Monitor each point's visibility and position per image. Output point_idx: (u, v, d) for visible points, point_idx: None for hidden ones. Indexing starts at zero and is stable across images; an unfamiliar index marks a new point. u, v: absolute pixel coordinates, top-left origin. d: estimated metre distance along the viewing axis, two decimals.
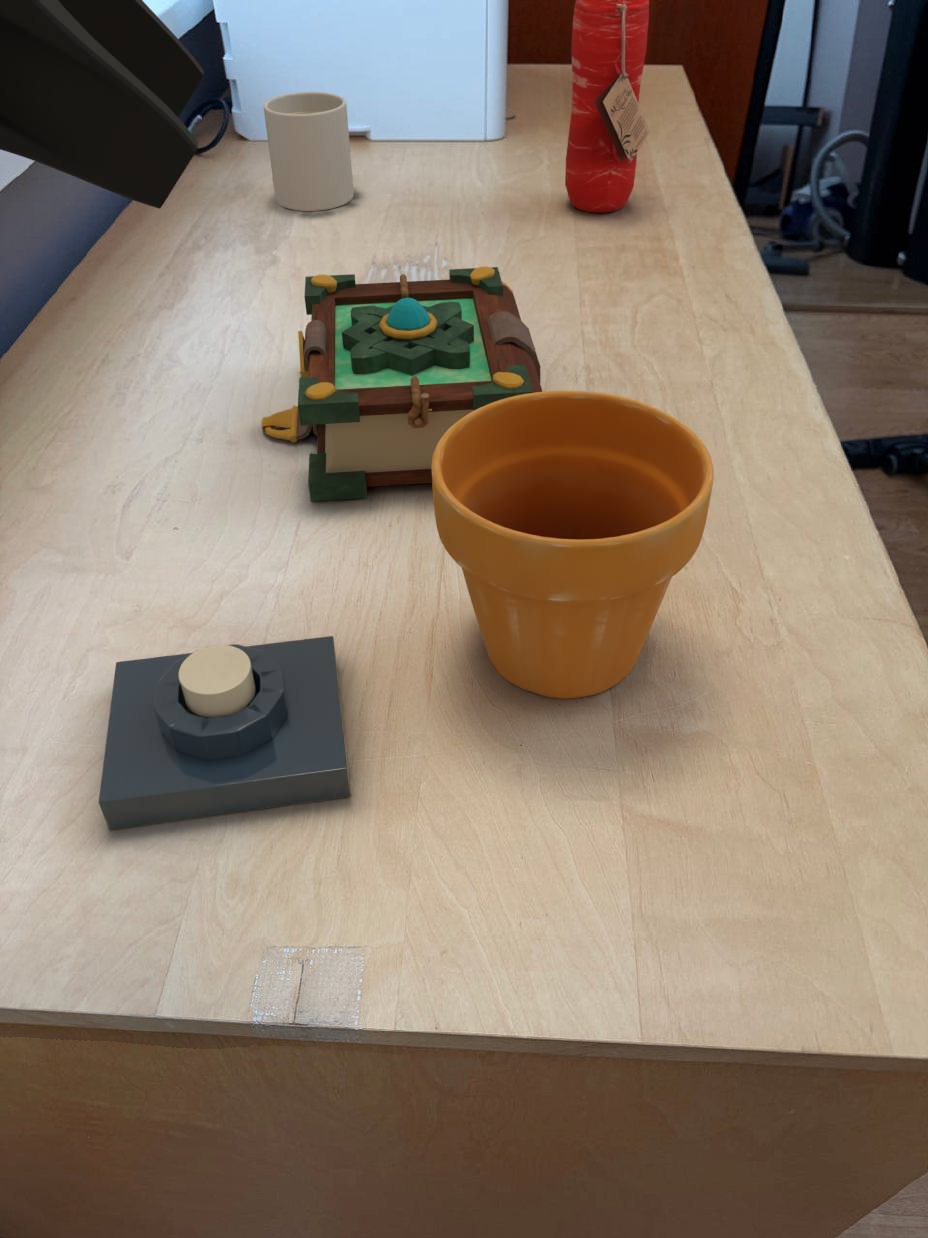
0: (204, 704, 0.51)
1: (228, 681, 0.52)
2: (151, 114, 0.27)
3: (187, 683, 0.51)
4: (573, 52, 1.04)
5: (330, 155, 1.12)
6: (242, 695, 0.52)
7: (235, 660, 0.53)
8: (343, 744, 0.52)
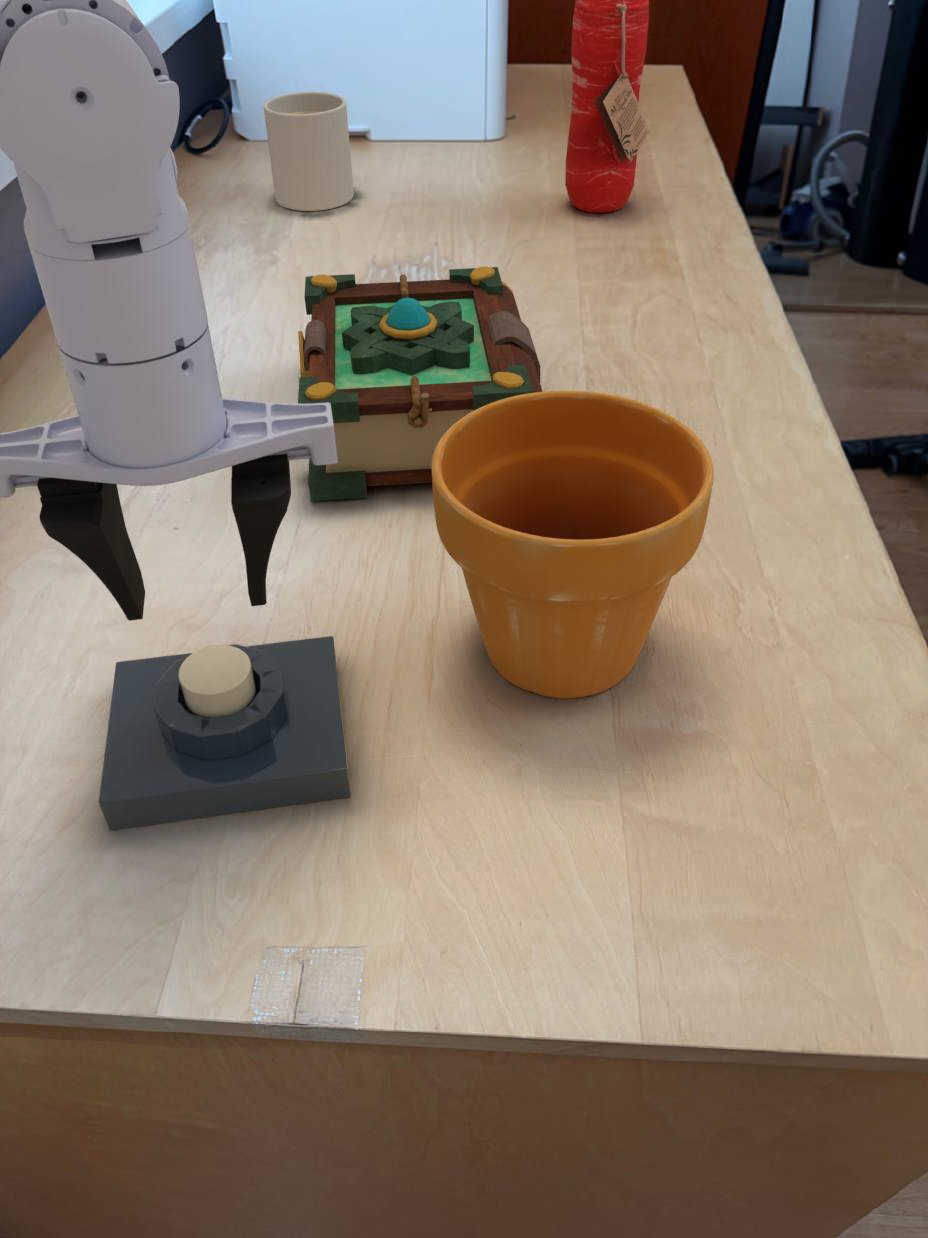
0: (204, 704, 0.51)
1: (228, 681, 0.52)
2: None
3: (187, 683, 0.51)
4: (573, 52, 1.04)
5: (330, 155, 1.12)
6: (242, 695, 0.52)
7: (235, 660, 0.53)
8: (343, 744, 0.52)
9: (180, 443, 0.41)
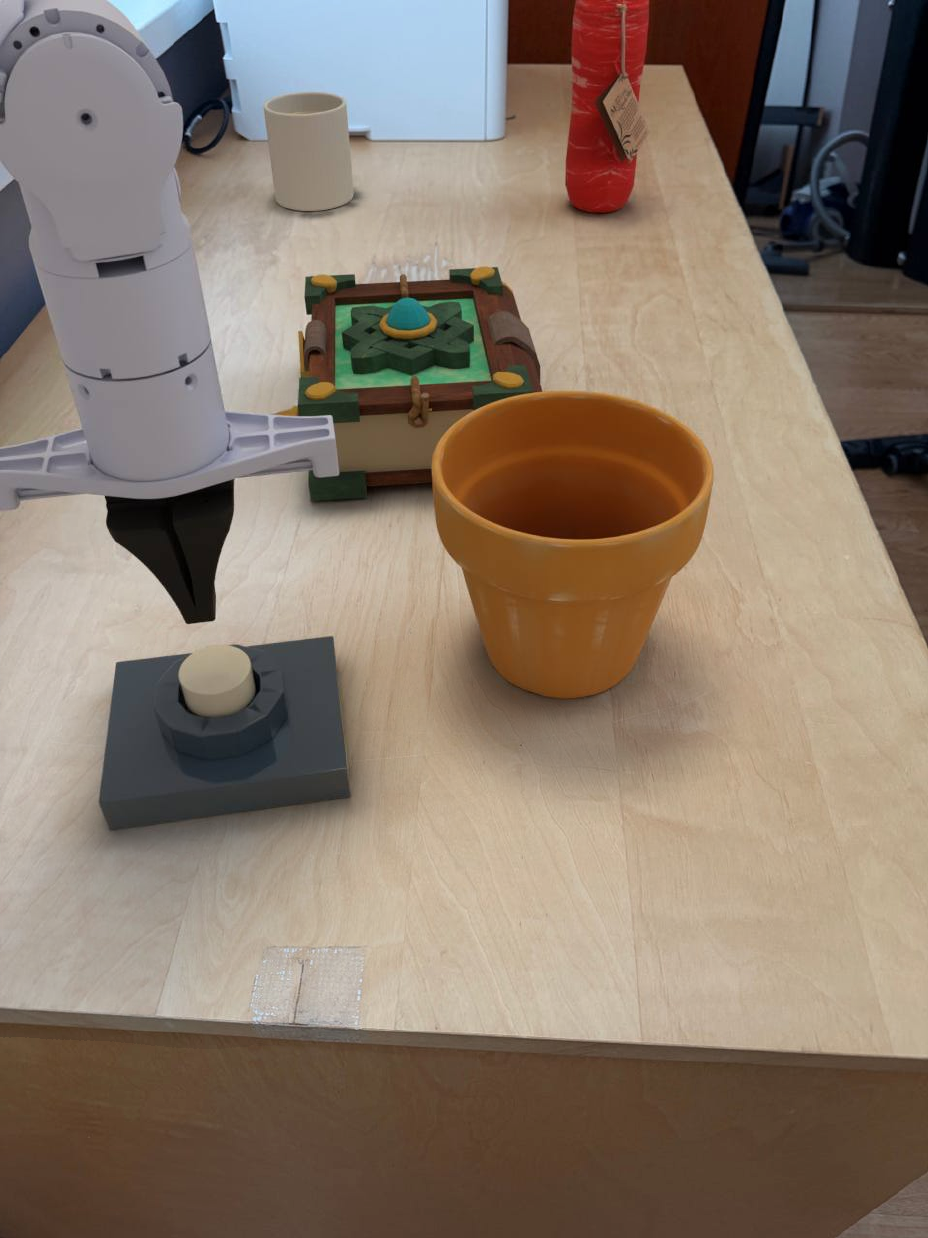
0: (204, 704, 0.51)
1: (228, 681, 0.52)
2: None
3: (187, 683, 0.51)
4: (573, 52, 1.04)
5: (330, 155, 1.12)
6: (242, 695, 0.52)
7: (235, 660, 0.53)
8: (343, 744, 0.52)
9: (183, 457, 0.41)
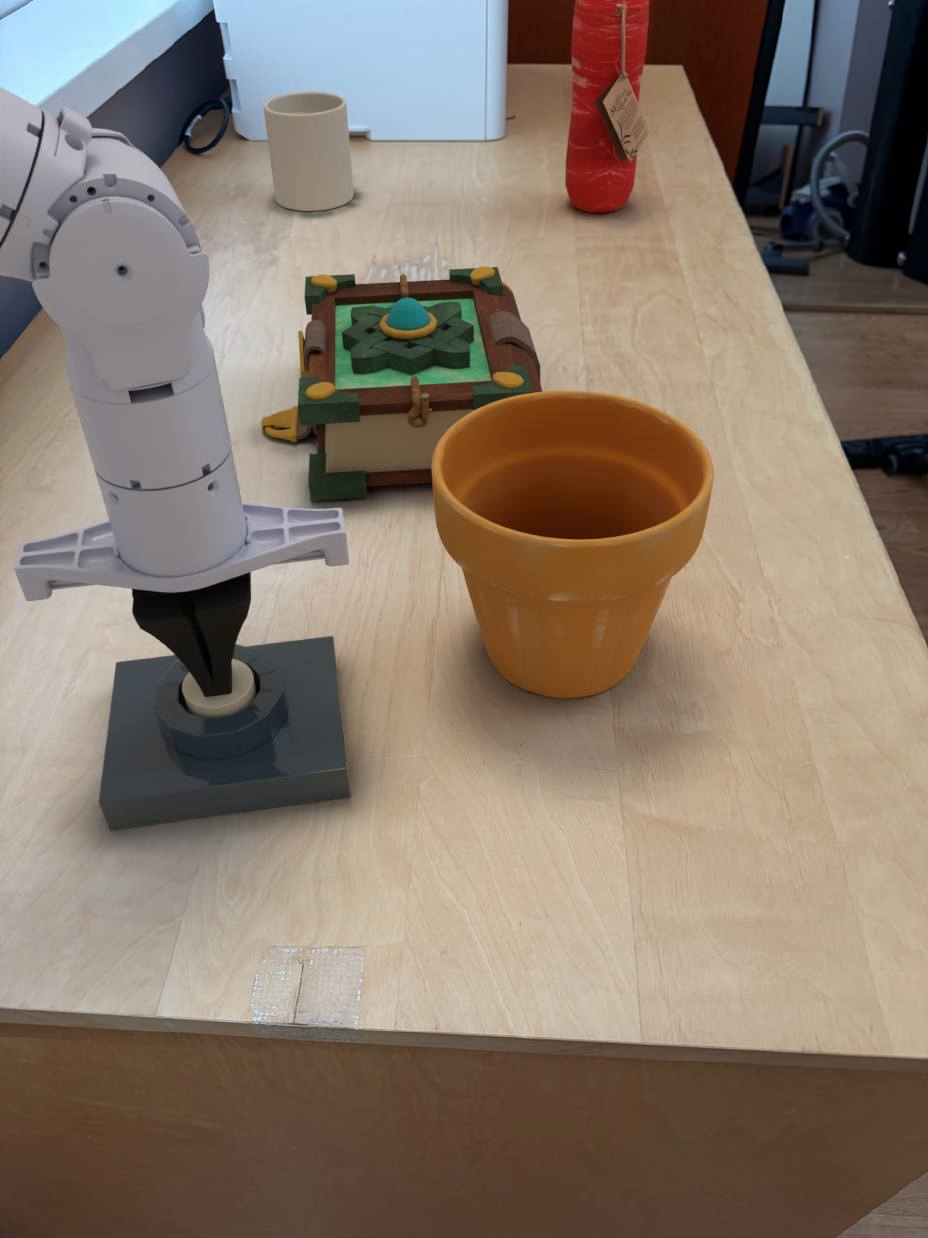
0: (207, 717, 0.52)
1: (231, 694, 0.52)
2: None
3: (191, 696, 0.52)
4: (573, 52, 1.04)
5: (330, 155, 1.12)
6: None
7: (238, 673, 0.53)
8: (343, 744, 0.52)
9: (205, 554, 0.45)
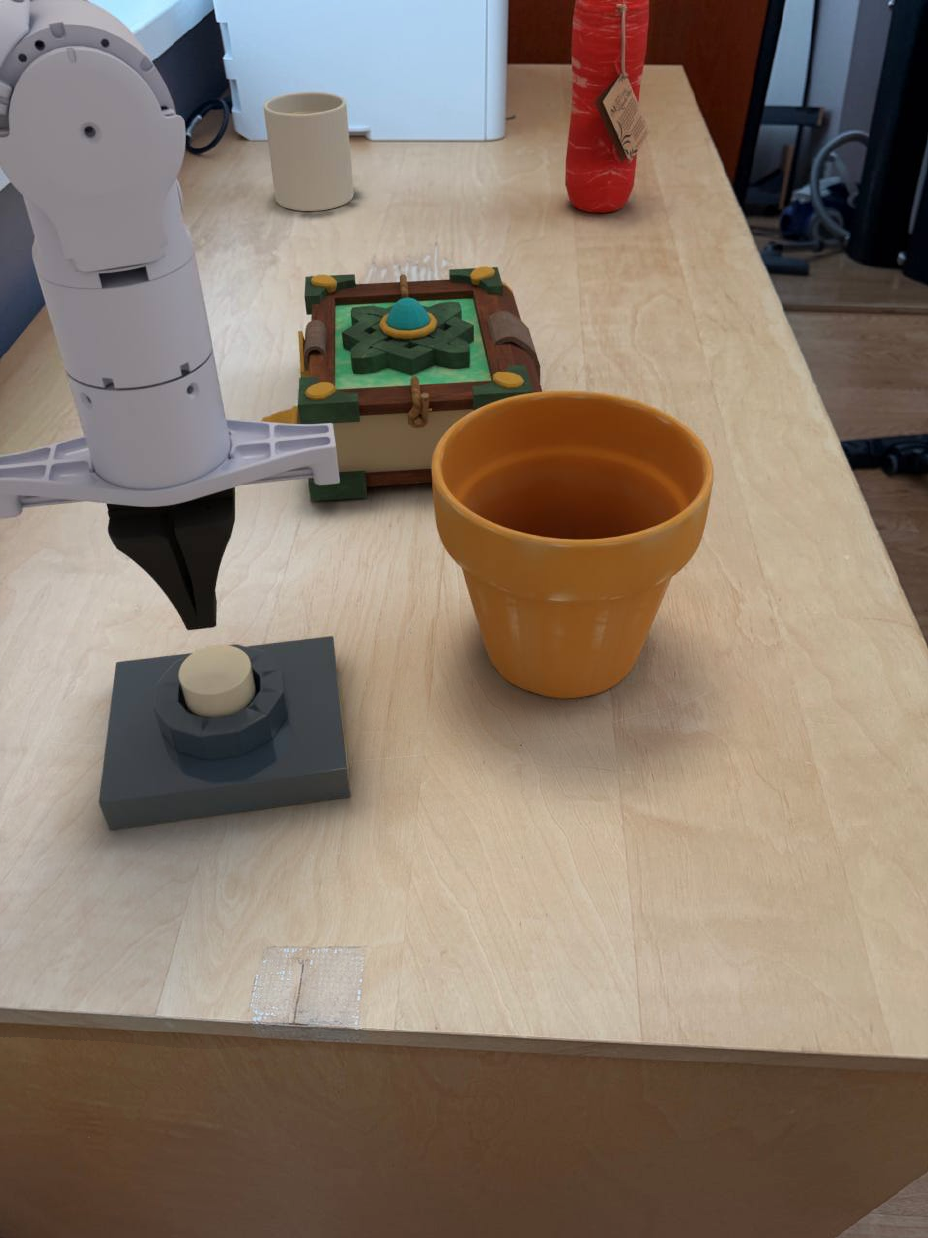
0: (204, 704, 0.51)
1: (228, 681, 0.52)
2: None
3: (187, 683, 0.51)
4: (573, 52, 1.04)
5: (330, 155, 1.12)
6: (242, 695, 0.52)
7: (235, 660, 0.53)
8: (343, 744, 0.52)
9: (185, 465, 0.42)
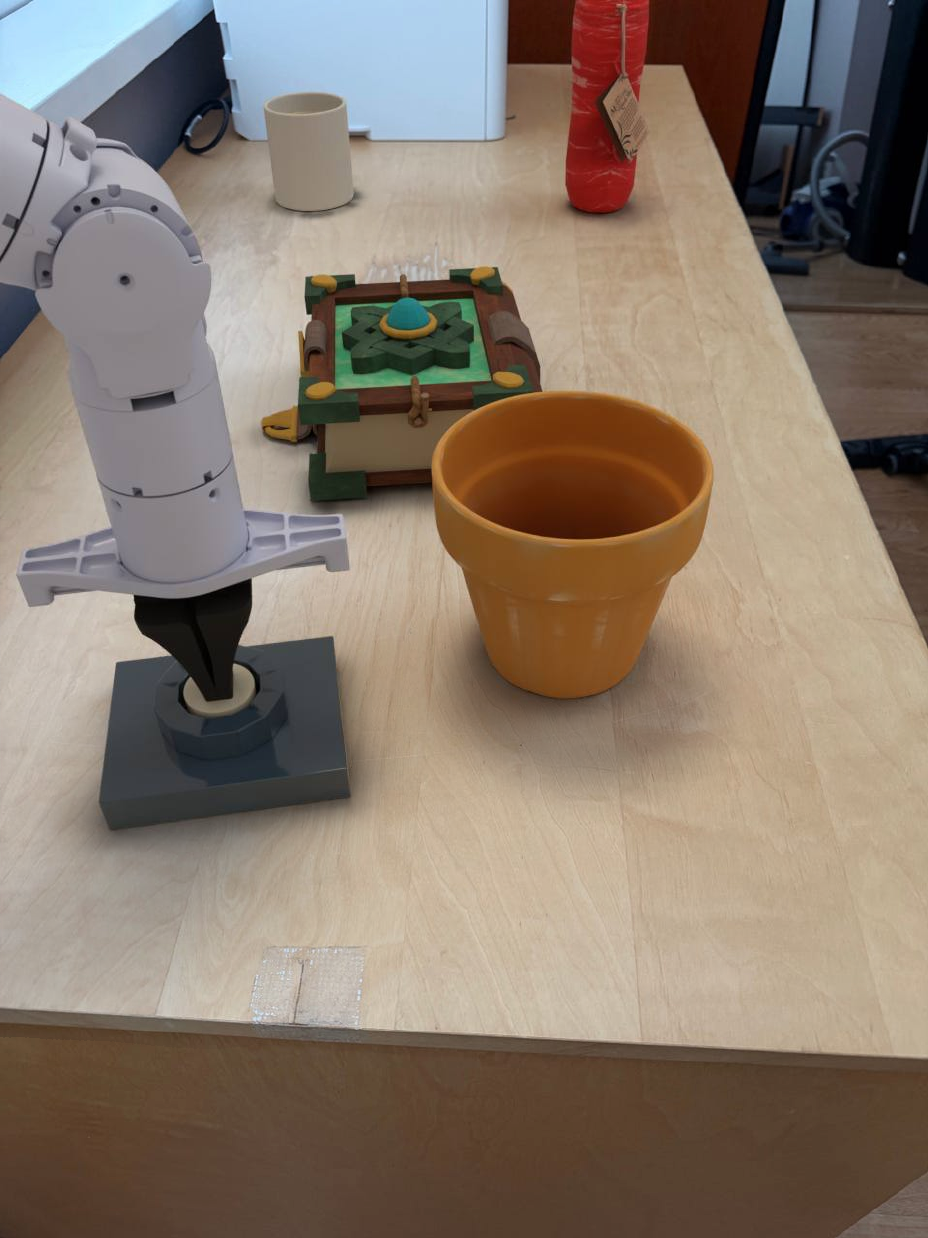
0: None
1: (232, 699, 0.52)
2: None
3: (192, 701, 0.52)
4: (573, 52, 1.04)
5: (330, 155, 1.12)
6: None
7: (239, 678, 0.53)
8: (343, 744, 0.52)
9: (207, 560, 0.45)
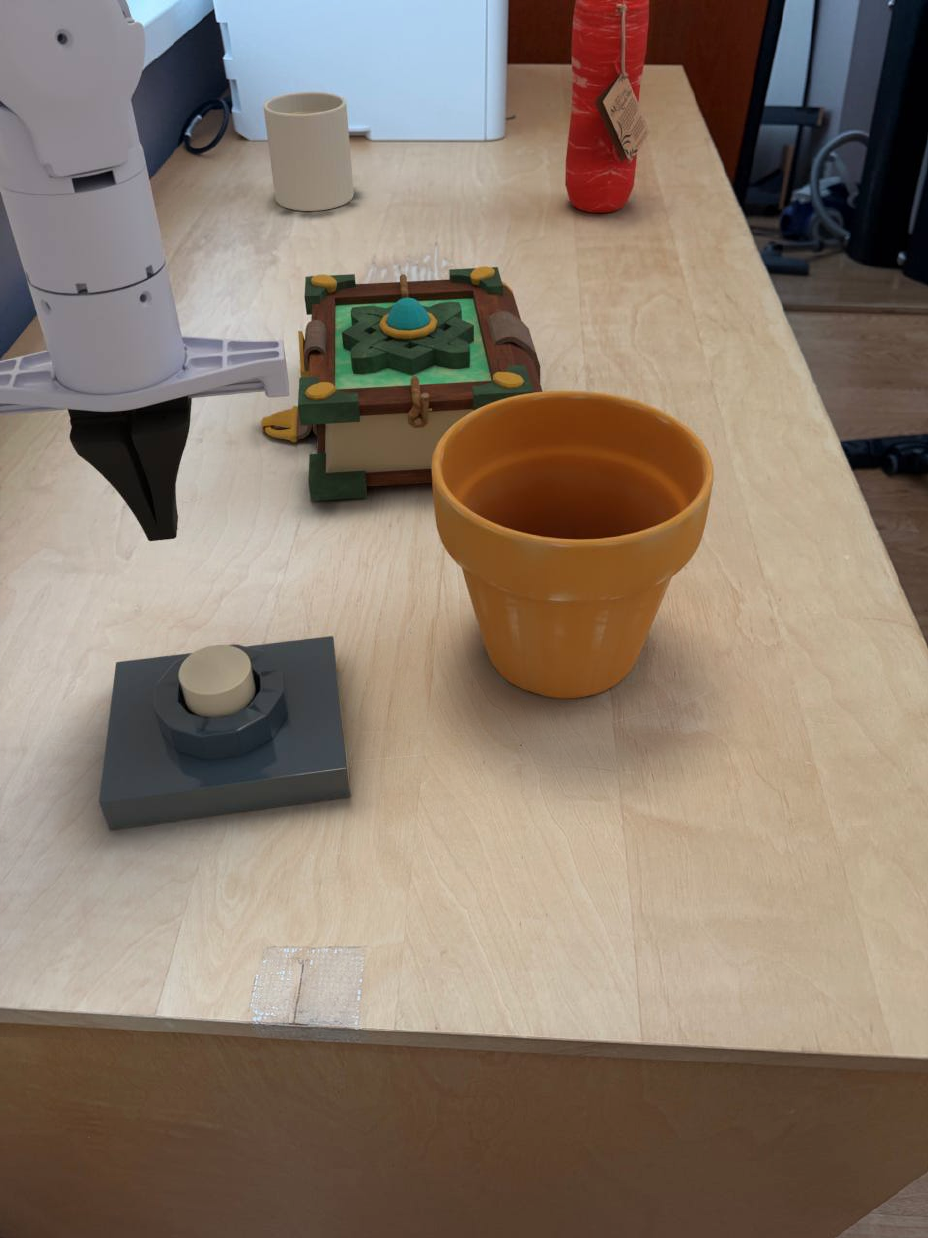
0: (204, 704, 0.51)
1: (228, 681, 0.52)
2: (175, 491, 0.53)
3: (187, 683, 0.51)
4: (573, 52, 1.04)
5: (330, 155, 1.12)
6: (242, 695, 0.52)
7: (235, 660, 0.53)
8: (343, 744, 0.52)
9: (140, 371, 0.44)
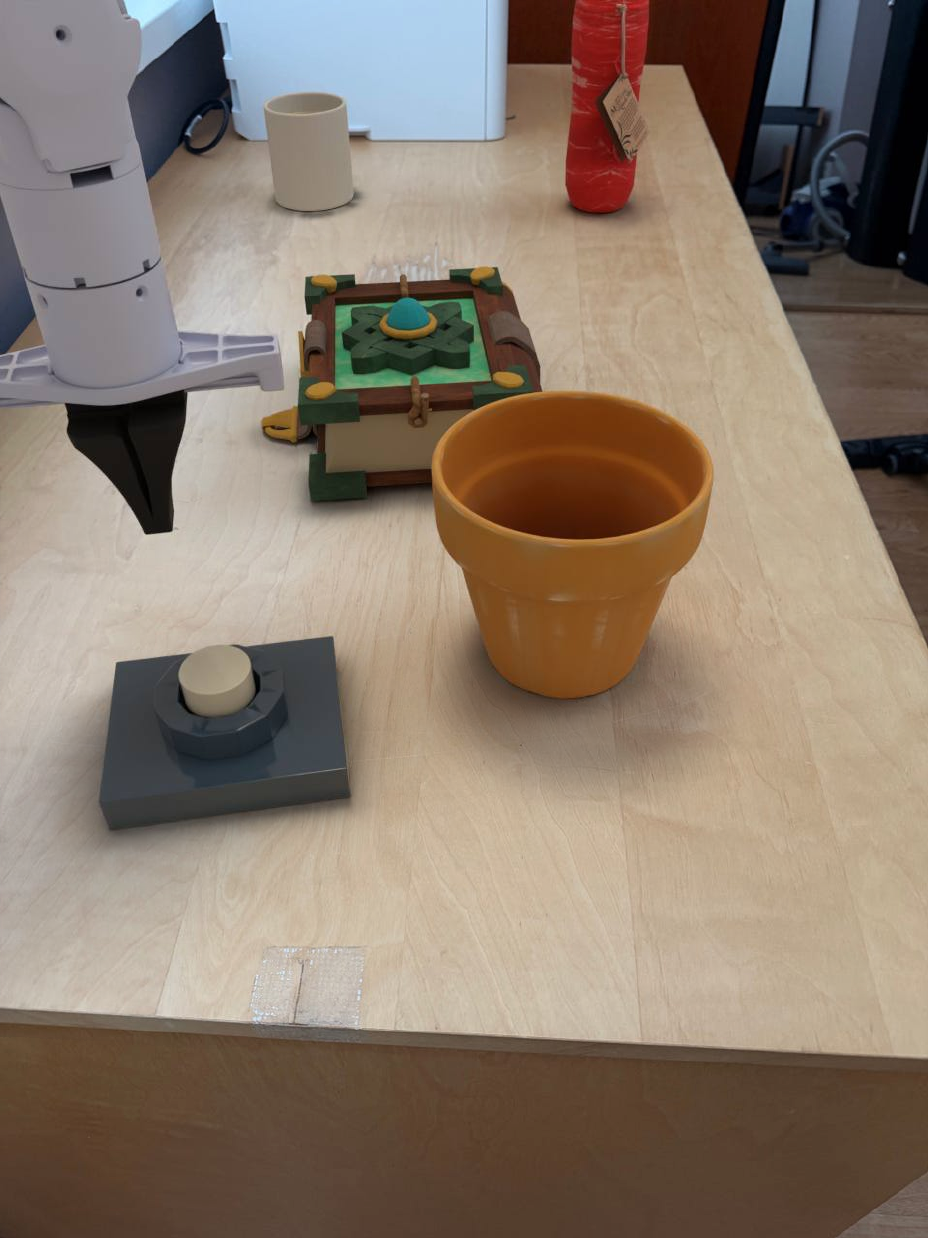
0: (204, 704, 0.51)
1: (228, 681, 0.52)
2: (171, 485, 0.53)
3: (187, 683, 0.51)
4: (573, 52, 1.04)
5: (330, 155, 1.12)
6: (242, 695, 0.52)
7: (235, 660, 0.53)
8: (343, 744, 0.52)
9: (136, 365, 0.45)
